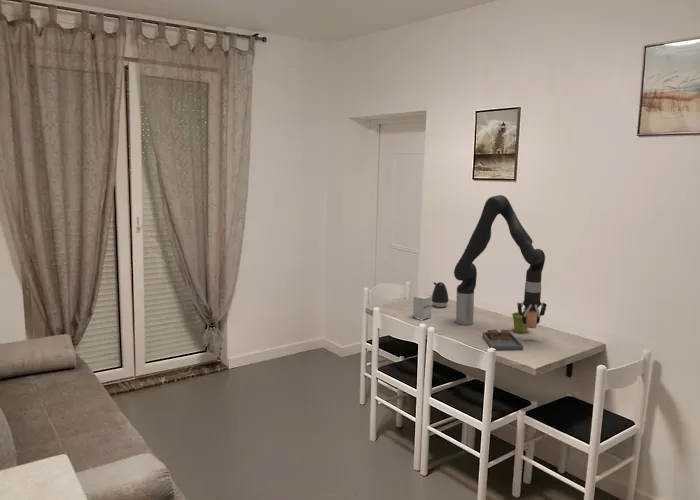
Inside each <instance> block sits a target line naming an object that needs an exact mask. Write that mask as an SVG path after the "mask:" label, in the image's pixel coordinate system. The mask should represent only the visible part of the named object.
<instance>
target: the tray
mask: <svg viewBox="0 0 700 500" xmlns="http://www.w3.org/2000/svg"><path fill="white" fill-rule="evenodd" d="M498 332H499V340H490V339H489V338H488V331H487V332H486V331H485V332H482V334H481V335H482V338H483V340H484V341H485V342H486V343H487V344H488V346H489V347H490V348H491V347H492V348H495V349H496V350H495V351H524V345H523V344H522V343H521V341H519V340H518V338H517V337H515V335H513V334H512V332H511V331H510V340H501V331H498Z"/></svg>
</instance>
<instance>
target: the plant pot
mask: <svg viewBox="0 0 700 500" xmlns="http://www.w3.org/2000/svg"><path fill="white" fill-rule="evenodd" d="M511 315H512V319H513V321H512V322H513V330H514V331H515V332H516V333H519V334H520V333H526V332H527V331H528V328H527V327H525V326H524V325H525V324H524V323H523V322H522V316H521V315H520V314H518V311H517V312H513V313H511Z"/></svg>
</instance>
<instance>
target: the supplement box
mask: <svg viewBox="0 0 700 500" xmlns="http://www.w3.org/2000/svg"><path fill="white" fill-rule="evenodd" d="M412 315H413V316H414V317H417V318H420V319H425V318H430V317H431V318H432V296H430V295H429V296H428V295H425V294H420V295H415V296H413V314H412ZM413 316H412V317H413ZM431 318H430V319H431Z"/></svg>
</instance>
